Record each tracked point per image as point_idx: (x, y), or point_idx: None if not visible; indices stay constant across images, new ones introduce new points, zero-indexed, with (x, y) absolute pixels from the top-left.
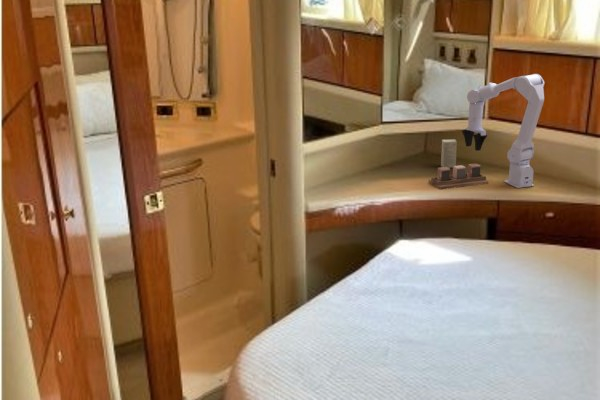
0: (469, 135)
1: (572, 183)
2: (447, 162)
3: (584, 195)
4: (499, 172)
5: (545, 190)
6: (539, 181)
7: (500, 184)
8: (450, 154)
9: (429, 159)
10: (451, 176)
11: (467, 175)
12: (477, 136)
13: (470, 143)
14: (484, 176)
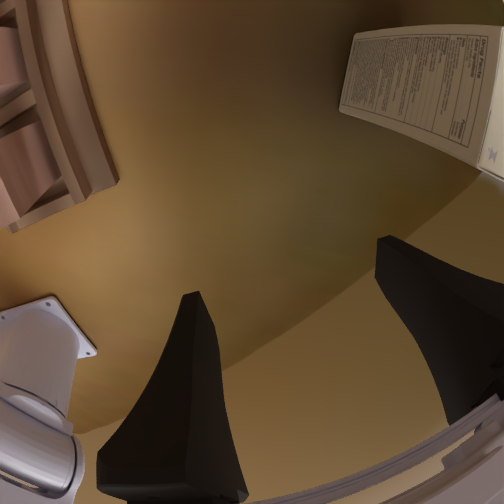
0: (448, 344)
1: (98, 424)
2: (366, 61)
3: None
4: None
5: None
6: (94, 385)
7: (16, 272)
8: (400, 82)
9: None
10: (17, 20)
11: (30, 124)
12: (98, 477)
13: (389, 289)
14: (13, 225)
